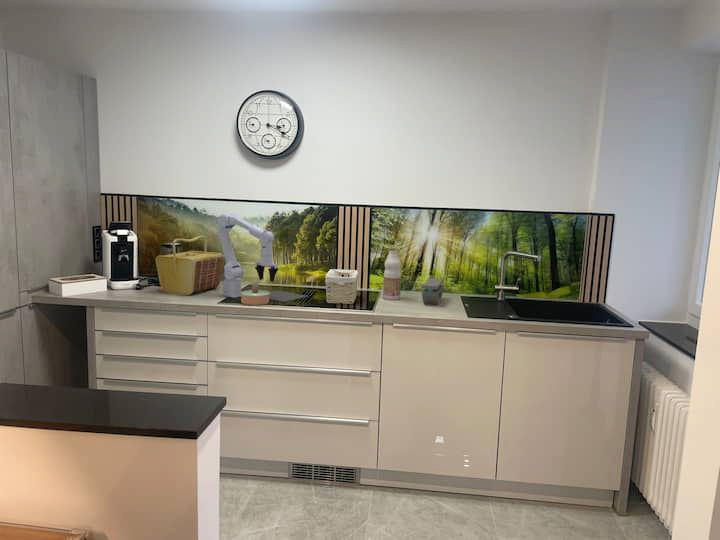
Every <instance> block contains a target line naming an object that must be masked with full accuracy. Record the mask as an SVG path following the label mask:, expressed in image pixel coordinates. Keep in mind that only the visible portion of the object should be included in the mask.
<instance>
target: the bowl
mask: <svg viewBox="0 0 720 540" xmlns="http://www.w3.org/2000/svg"><path fill="white" fill-rule="evenodd" d="M240 297H241V298H240V299H241V300H240V302H241V304H243V305H245V306H263V305H268V304H270V300H269V295H267V296H260V297H249V296H243V295H241V296H240Z"/></svg>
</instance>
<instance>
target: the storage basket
mask: <svg viewBox="0 0 720 540" xmlns="http://www.w3.org/2000/svg"><path fill="white" fill-rule="evenodd" d="M340 275H341V276H340ZM342 275H343V276H342ZM344 275H346V276H347V275H348V276H347V277H346V276H344ZM358 277H359V271H358V270H356V269H339V268H338V269H335V268H333V269H329V271H328V272H326V275H325V280H324V282H325V283H324V284H325V291H326V292H325V294H326V295H325V296H326V302H327V303H328V304H340V303H342V304H344V305H345V304H346V305H353V304H354V303H355V301H356V299H357V295H358V294H357V290H358V279H359V278H358Z"/></svg>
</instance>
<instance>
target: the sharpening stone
mask: <svg viewBox="0 0 720 540" xmlns="http://www.w3.org/2000/svg"><path fill="white" fill-rule="evenodd" d="M444 282H445V279H444V278H437V277H436V278H434V277H430V278H428V279H427V280H426V281H425V282H424V283H423V284H422V285H421V287H422V288H421V289H423V290H422V292H421V297H422V303H423V304H426V305H427V304H429V305H436V306H437V305H439V304H440V303H441V301H442V297H443V291H444V284H443V283H444Z"/></svg>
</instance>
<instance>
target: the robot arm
mask: <svg viewBox="0 0 720 540" xmlns="http://www.w3.org/2000/svg"><path fill="white" fill-rule="evenodd" d="M216 222H217V234H218V238H219V241H220V245H221V248H222V252H223V253H222V254H223V256H224V261H225V264H224V265H223V269H224V272H223V275H224V278H225V279H224V280H223V282H222V294H221V296H224V297H229V298H239V297H241V294H240V292H242V280H241V279H242V277H243V276H244V269H243V268H242V266H241V263H240V262H238V260H237V259H236V254H235V251H234V247H233V243H232V239H231V235H230V231H231V230H232V229H233V228H234V227H235V226H239V227H240V228H242V229H245V230H246V231H248V233H249V235H251V236H253V237H254V238H256V239H257V240H259V241H260V261H255V262H254V267H255V268H254V269H255V270H256V272H257V275H258V278H259V279H258V280H259V281H262V280H264V272H265V268H267V270H268V273H269V274H268V275H269V281H270V282H271V283H272V282H274V281H275V278H276V275H277V273H278V271H279V263H274V262H273V242H274V240H275V234H274V233H273V231H271V230H268V231H267V229H266V228H262V227H261V226H260V224H251V223H249V222H248V221H246V220H245V219H243V218H242V217H241V216H239V215H238V214H235V213H227V214H225V213H224V214H223V213H222V214H220V215H219V216H218V218H217V220H216Z"/></svg>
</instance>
